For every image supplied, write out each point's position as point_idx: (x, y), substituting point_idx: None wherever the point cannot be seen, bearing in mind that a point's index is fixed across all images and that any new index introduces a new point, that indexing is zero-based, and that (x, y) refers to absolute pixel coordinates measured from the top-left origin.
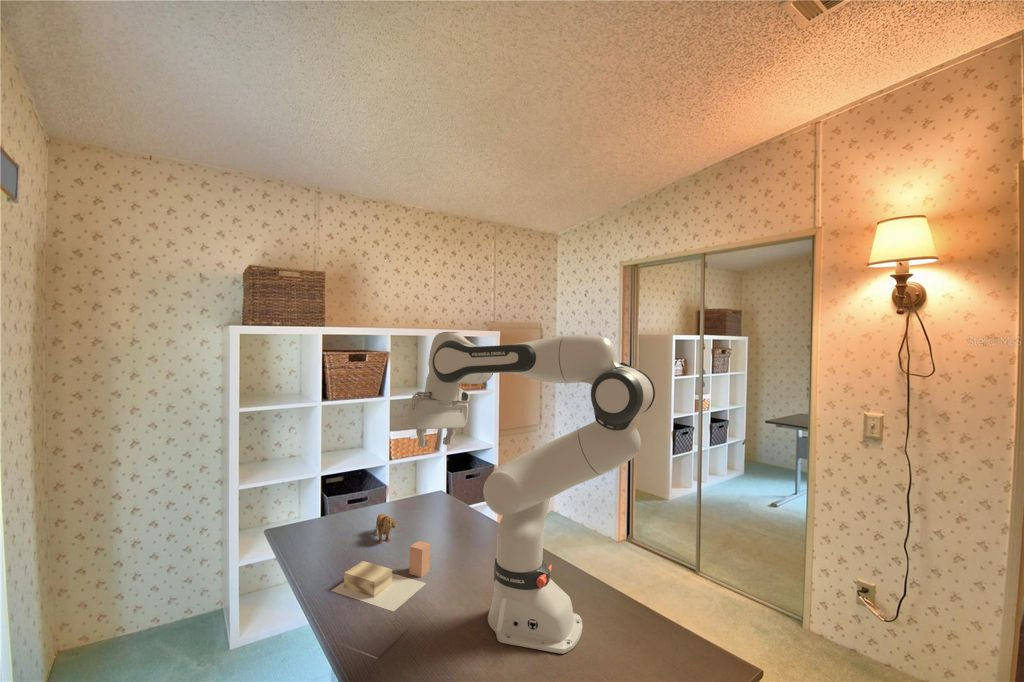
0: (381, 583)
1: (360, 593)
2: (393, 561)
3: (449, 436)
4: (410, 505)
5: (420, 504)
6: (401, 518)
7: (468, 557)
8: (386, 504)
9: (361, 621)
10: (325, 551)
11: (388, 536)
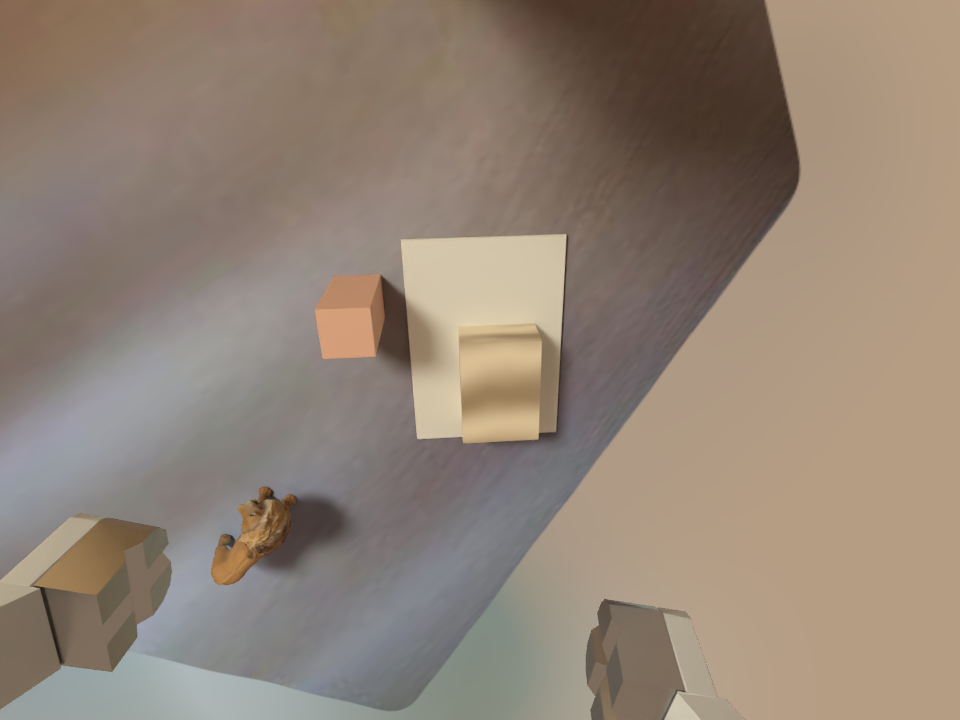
0: (507, 334)
1: None
2: (351, 402)
3: (10, 636)
4: None
5: None
6: None
7: (168, 211)
8: None
9: (628, 282)
10: (414, 566)
11: (259, 499)
